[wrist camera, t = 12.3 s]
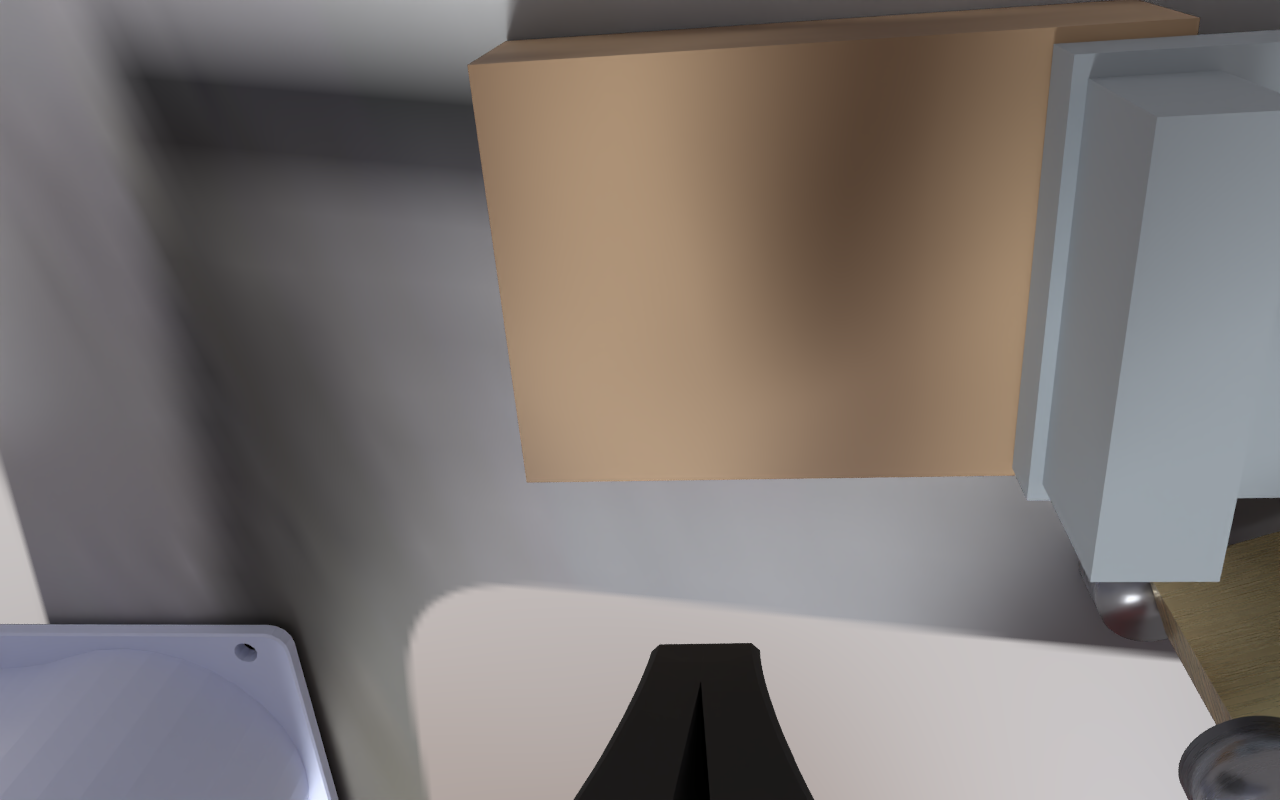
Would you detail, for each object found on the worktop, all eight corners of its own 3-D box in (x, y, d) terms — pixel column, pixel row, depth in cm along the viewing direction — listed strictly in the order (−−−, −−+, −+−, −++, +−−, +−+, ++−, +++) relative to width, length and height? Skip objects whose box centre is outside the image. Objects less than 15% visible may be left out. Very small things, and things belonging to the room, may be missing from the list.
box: (552, 414, 20) (526, 482, 18) (505, 41, 17) (467, 65, 15) (1083, 402, 19) (1129, 473, 17) (1134, -1, 16) (1200, 18, 14)
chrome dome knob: (1072, 599, 21) (1092, 641, 20) (1084, 516, 20) (1105, 555, 19) (1176, 599, 21) (1202, 641, 20) (1193, 515, 20) (1220, 554, 19)
